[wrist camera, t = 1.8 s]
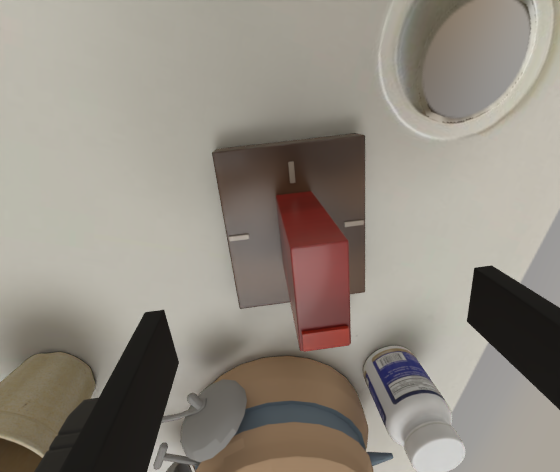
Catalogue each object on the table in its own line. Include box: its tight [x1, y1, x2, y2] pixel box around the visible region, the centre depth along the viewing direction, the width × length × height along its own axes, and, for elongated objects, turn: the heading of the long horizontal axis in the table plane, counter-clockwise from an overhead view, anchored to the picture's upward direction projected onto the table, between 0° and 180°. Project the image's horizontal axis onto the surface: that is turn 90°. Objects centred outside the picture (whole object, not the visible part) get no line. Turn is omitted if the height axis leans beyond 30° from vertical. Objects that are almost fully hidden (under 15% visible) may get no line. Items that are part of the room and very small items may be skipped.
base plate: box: [212, 133, 365, 309], centre depth 23 cm, size 12×10×2 cm
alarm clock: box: [154, 356, 393, 472], centre depth 27 cm, size 17×9×23 cm
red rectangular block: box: [276, 191, 351, 352], centre depth 18 cm, size 6×2×9 cm, turn 6°
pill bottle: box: [363, 346, 466, 472], centre depth 26 cm, size 5×5×9 cm
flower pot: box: [0, 352, 95, 472], centre depth 24 cm, size 9×9×9 cm
